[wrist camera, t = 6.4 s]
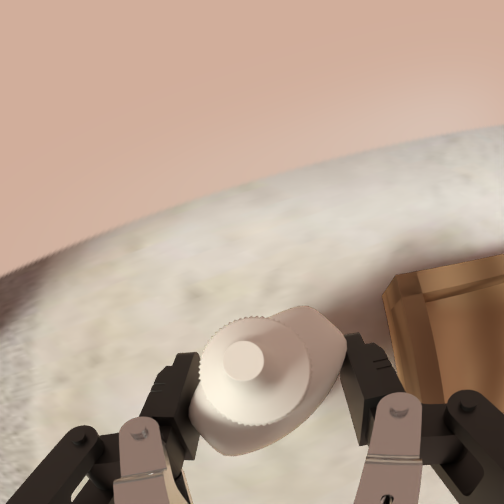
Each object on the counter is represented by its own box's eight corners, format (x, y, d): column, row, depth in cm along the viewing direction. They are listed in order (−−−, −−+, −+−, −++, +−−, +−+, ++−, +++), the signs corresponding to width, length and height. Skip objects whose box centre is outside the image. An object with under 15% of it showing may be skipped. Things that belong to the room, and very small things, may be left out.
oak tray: (406, 447, 13) (427, 453, 10) (381, 295, 17) (395, 275, 14) (542, 387, 12) (570, 380, 9) (513, 266, 16) (535, 246, 14)
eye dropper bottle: (219, 367, 17) (91, 286, 6) (318, 339, 17) (353, 209, 6) (238, 441, 14) (122, 498, 4) (341, 413, 14) (438, 423, 4)
